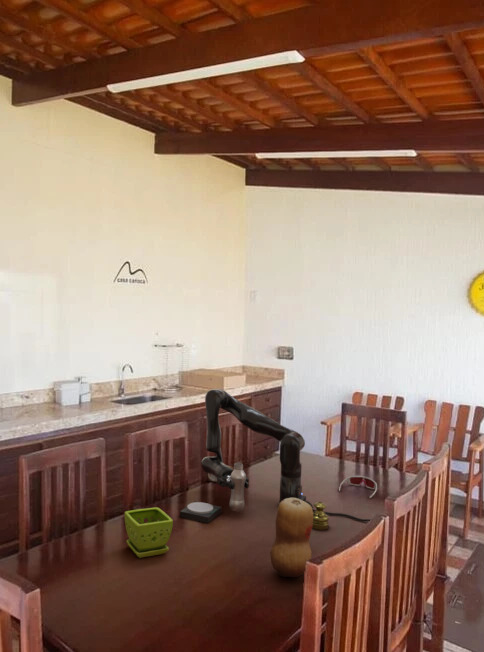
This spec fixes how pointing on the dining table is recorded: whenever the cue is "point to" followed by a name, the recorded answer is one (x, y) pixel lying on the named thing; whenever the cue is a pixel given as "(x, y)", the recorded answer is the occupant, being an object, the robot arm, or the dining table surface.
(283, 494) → the robot arm
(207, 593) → the dining table surface
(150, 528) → the flower pot
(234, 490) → the plastic bottle
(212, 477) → the tin
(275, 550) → the butternut squash
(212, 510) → the kitchen scale
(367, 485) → the sunglasses
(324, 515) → the golden figurine
